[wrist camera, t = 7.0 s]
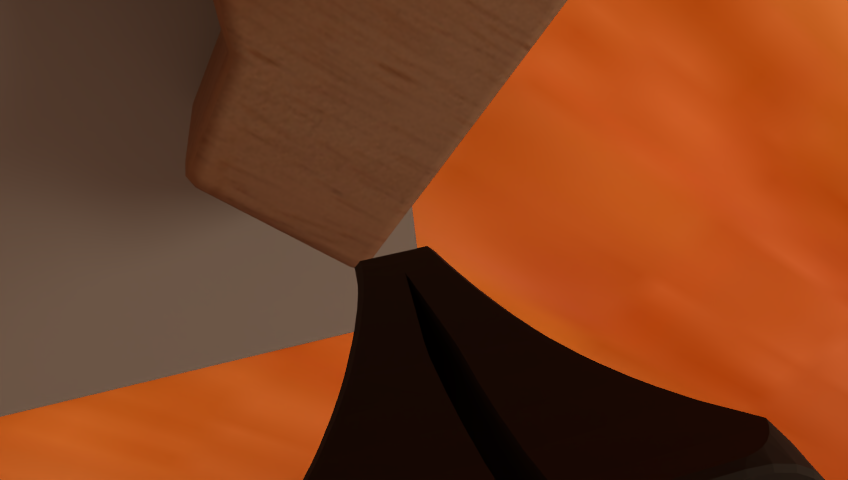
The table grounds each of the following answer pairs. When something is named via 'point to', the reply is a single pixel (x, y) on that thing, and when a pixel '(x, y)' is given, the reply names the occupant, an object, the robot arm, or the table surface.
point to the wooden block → (347, 107)
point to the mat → (133, 213)
